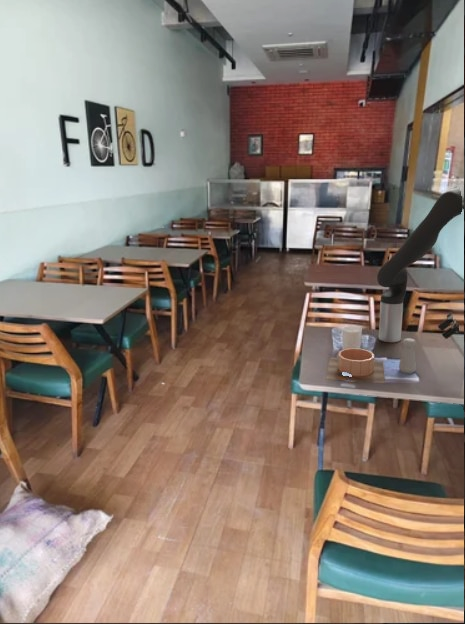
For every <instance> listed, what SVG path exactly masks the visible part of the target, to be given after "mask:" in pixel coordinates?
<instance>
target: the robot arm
mask: <svg viewBox="0 0 465 624" xmlns="http://www.w3.org/2000/svg"><path fill="white" fill-rule="evenodd" d="M460 187H461V186H458V187H454V188H452V189H449V190H446V191H445V192H443V193H441V195H440V196H438V198H437V199H436V201H435V203H434V204H433V206H432V208H431V209H430V211H429V212H428V214H427V215H426V216H425V217H424V219H423V220H422V221H421V222H420V223H419V224H418V226H417V227H416V228H415V229H414V230H413V231H412V232H411V233H410V234H409V236H408V237H407V239H406V240H405V241H404V243H403V244H402V245H401V246H400V247H399V248H398V250H397V251H396V252H395V253H394V255H392V257H391V258H389V259H388V260H387V262H385V263H384V264H383V265H382V266H381V267H380V268H379V270H378V272H377V275H376V279H377V284H378V285H379V286H380V287H383V288H388V289H387V290H386V291H384V292H383V293H382V294H381V295H380V305H379V306H380V307H379V322H378V323H379V324H378V325H379V326H378V339H379V341H382V342H385V343H397V342H400V341H401V339H402V337H401V336H402V324H403V311H404V298H405V297H406V293H407V287H408V286H407V285H408V272H407V267H409V266H411V265H413V264H415V263H417V261H420V260H421V259H422V258H423V257H425V256H426V255H427V254H428V253H429V252H430V251H431V249H432V248H433V247H434V246H435V245H436V243H437V241H438V238H439V235H440V233H441V231H442V229H444V227H445V226H446V225H447V224H448V223H449V222H450V221H452V220H453V219H454V218H455V217H458V216H461V215H462V214H461V212H462V196H461V191H460ZM448 327H449V328H448ZM437 328H438V329H439V330H440V331H444V330H445V329H446V330H445V331H444V332H442V333H441V336H442V337H443V338H444V339H446V340H447V339H450V337H451V336H453V335H454V334H455V333H456V334H457V333H458V334H460V333H459V325H458V324H457V322H456V319H455V320H454V323H453V314H452V311H451V312H450V313H449V314H446V318H445V320H444V321H442V322H440V324H438V325H437Z"/></svg>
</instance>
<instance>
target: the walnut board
mask: <svg viewBox="0 0 465 624" xmlns="http://www.w3.org/2000/svg"><path fill="white" fill-rule="evenodd" d="M384 366H385V365H384V361H383V360H374V370H373V373H372V374H371V375H368V376H363V377H354V376H352V377H349V376H343V375H342V373H341V372H340V371H339V370H338V357H330V358H329V360H328V366H327V373H326V379H325V380H335V381H349V382H350V381H351V382H360V383H361V382H362V383H375V384H384V385H385V384H386V377H385V376H386V375H385V367H384Z"/></svg>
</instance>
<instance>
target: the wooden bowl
mask: <svg viewBox="0 0 465 624" xmlns="http://www.w3.org/2000/svg"><path fill="white" fill-rule="evenodd" d="M337 358H338V370H339V371H340V372H341V373H342V372H347V373H349V374H351V375H352V376H354V377H363V376H368V375H371V374H372V373H373V370H374V361H375V354H374V353H373V352H372V351H370V350H367V349H363V348H360V349H358V348H350V349H343V348H342V349H341V350H339V351H338V357H337Z"/></svg>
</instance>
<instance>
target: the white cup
mask: <svg viewBox="0 0 465 624" xmlns="http://www.w3.org/2000/svg"><path fill="white" fill-rule="evenodd" d="M362 333H363V329H362V327H359V326H355V325H354V326H353V325H347V326H343V327H342V329H341V338H342V339H341V340H342V342H341V343H342V350H343V349H350V348H358V349H361V345H362V344H361V343H362Z"/></svg>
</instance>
